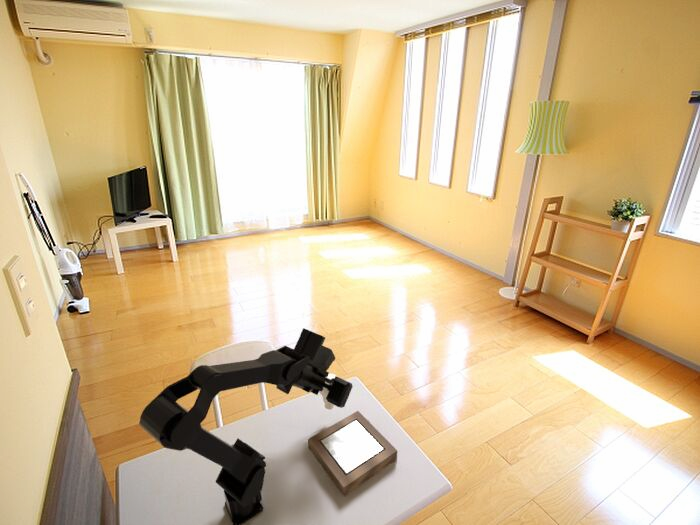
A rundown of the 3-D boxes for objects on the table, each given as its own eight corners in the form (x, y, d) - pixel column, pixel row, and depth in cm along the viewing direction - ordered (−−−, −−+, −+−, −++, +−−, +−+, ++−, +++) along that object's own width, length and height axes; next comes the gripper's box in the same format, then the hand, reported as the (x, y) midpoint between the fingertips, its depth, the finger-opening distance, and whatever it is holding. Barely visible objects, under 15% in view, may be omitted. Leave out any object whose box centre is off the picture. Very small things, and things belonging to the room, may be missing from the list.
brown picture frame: (344, 496, 82) (343, 487, 80) (308, 447, 94) (307, 439, 92) (396, 459, 90) (397, 450, 89) (358, 418, 102) (358, 410, 101)
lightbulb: (341, 401, 104) (341, 369, 100) (338, 417, 98) (338, 384, 94) (320, 399, 104) (319, 368, 100) (316, 415, 99) (315, 382, 95)
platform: (346, 479, 84) (346, 473, 84) (321, 446, 93) (320, 440, 92) (383, 454, 90) (383, 448, 90) (356, 425, 99) (356, 420, 98)
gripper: (347, 357, 84) (372, 371, 97) (289, 332, 94) (318, 347, 107) (327, 404, 81) (355, 412, 94) (269, 373, 91) (301, 384, 104)
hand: (331, 386), depth 100 cm, fingers closed on lightbulb, 6 cm apart
